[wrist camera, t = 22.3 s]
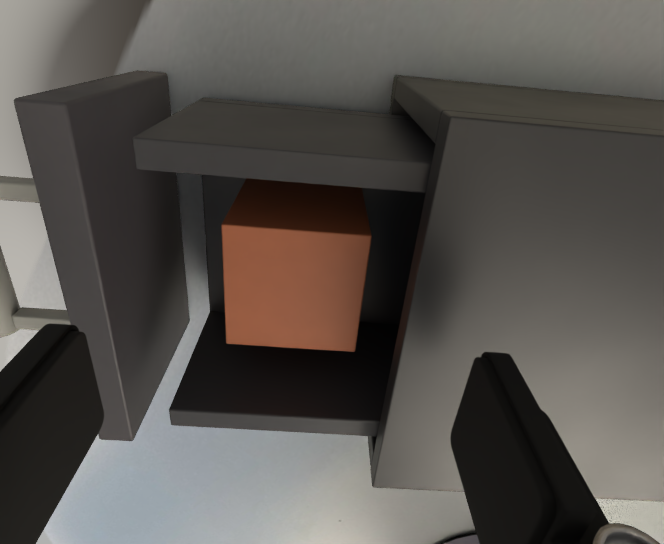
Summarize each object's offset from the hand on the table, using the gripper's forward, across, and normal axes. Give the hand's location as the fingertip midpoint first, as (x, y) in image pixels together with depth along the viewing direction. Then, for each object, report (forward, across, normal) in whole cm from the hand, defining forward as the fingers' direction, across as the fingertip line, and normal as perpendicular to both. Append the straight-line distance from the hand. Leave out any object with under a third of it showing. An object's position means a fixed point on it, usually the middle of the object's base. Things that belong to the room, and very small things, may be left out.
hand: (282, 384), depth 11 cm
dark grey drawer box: (+11, -10, 0) cm, 15 cm away
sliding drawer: (+10, +2, 0) cm, 10 cm away
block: (+9, 0, 0) cm, 9 cm away
